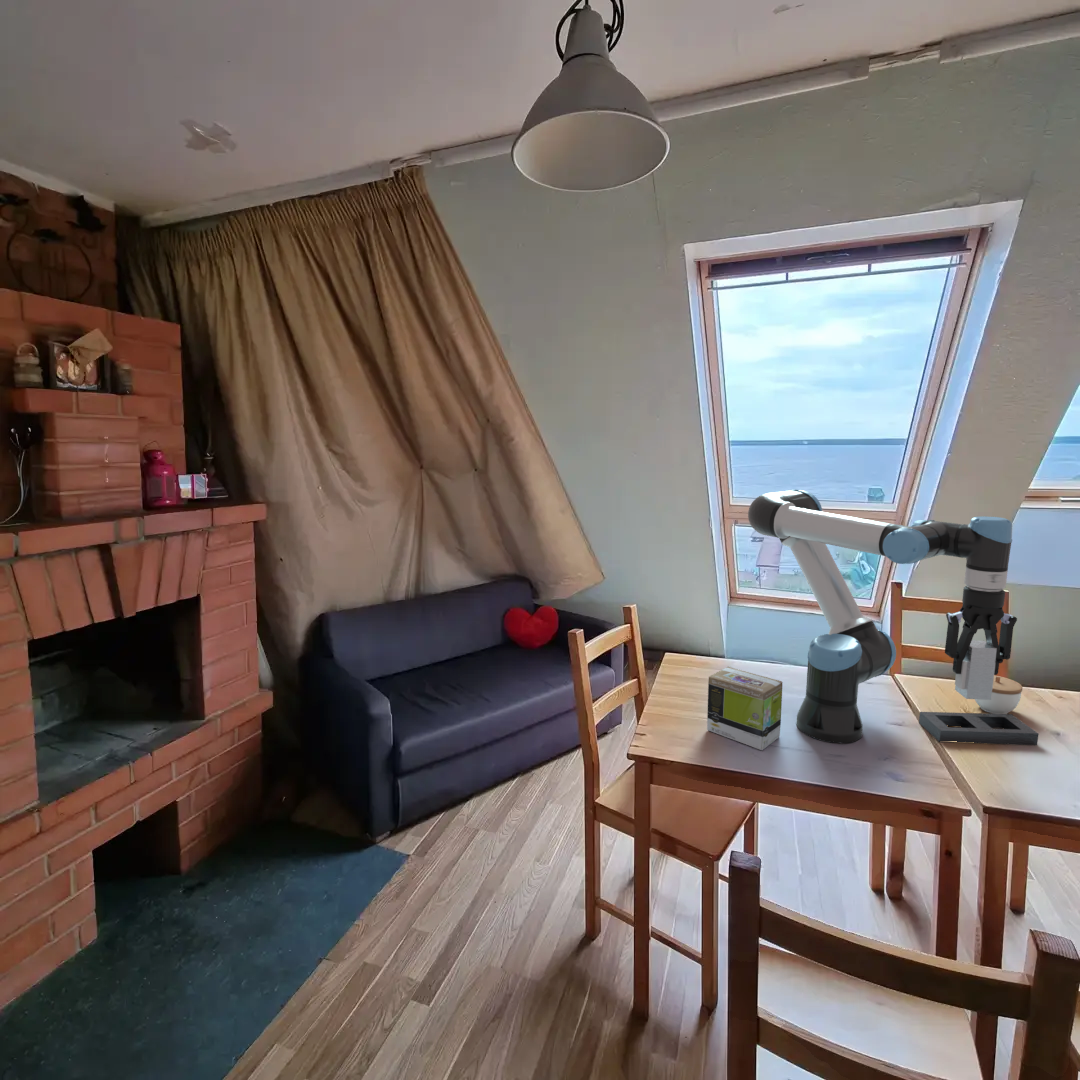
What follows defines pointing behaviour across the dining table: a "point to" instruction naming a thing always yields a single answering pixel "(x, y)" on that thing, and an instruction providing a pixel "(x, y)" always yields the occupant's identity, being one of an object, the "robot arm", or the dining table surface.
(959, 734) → the dark grey flat frame
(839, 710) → the robot arm
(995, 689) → the lidded jar
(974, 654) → the solid steel block
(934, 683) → the dining table surface
